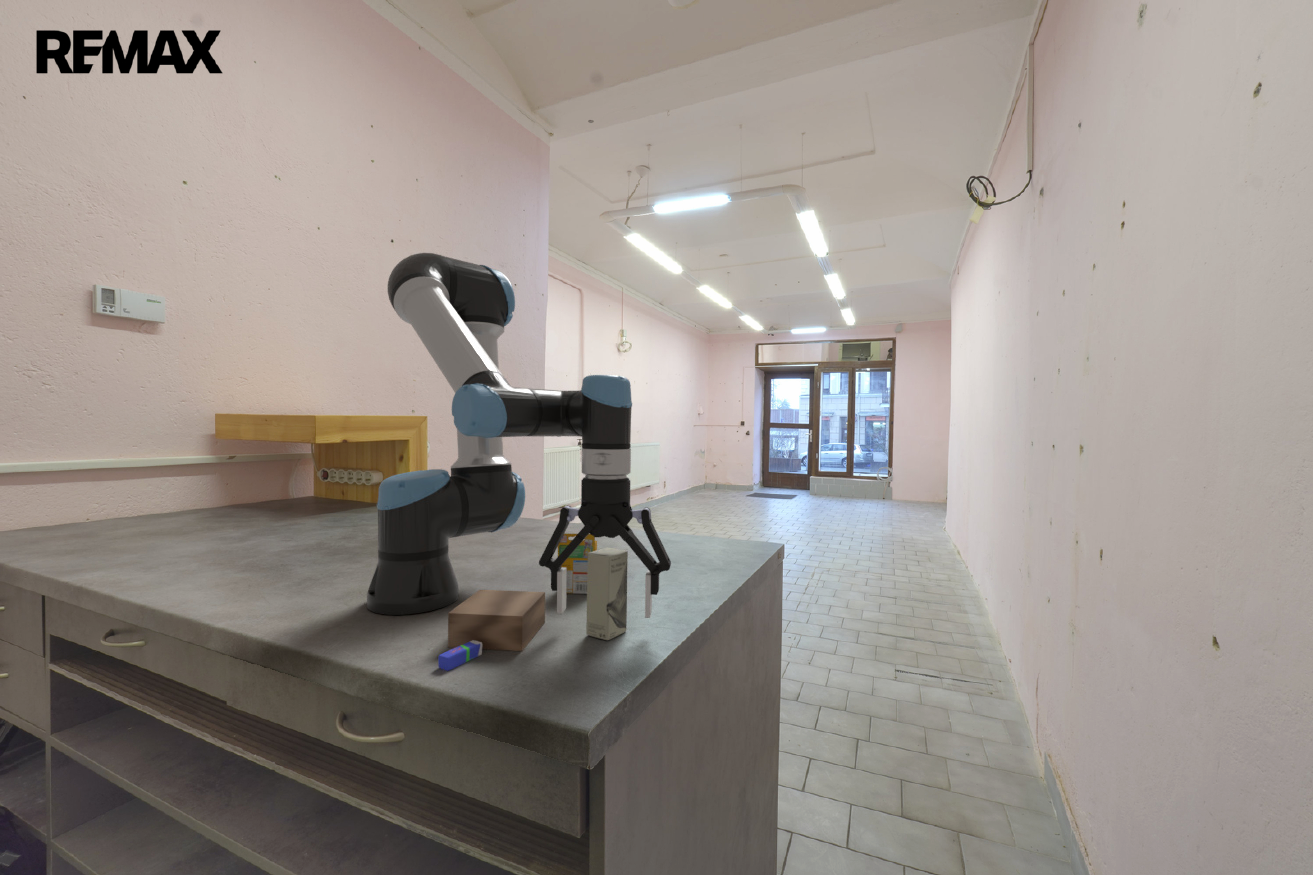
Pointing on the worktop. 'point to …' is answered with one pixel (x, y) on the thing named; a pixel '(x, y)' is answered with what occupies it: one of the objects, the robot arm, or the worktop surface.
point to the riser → (497, 619)
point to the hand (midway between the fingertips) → (604, 613)
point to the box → (606, 593)
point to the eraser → (459, 655)
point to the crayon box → (577, 563)
